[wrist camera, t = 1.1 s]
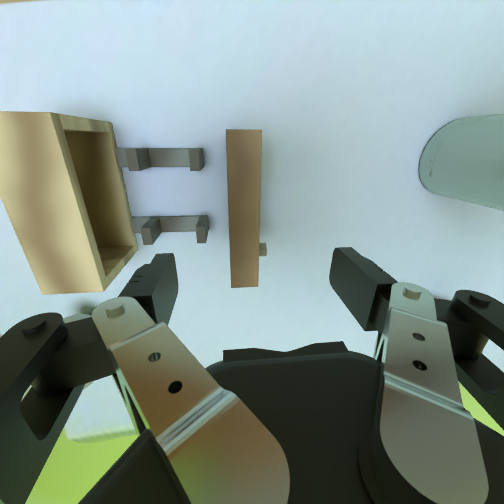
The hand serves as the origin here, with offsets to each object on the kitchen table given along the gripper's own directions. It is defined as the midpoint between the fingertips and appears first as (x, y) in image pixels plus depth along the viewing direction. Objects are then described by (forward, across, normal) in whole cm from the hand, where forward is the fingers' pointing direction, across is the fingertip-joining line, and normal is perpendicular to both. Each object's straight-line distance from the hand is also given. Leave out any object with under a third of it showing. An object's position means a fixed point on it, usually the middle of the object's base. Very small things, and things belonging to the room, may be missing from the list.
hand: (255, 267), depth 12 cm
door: (+20, 0, 0) cm, 20 cm away
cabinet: (+20, +11, 0) cm, 23 cm away
